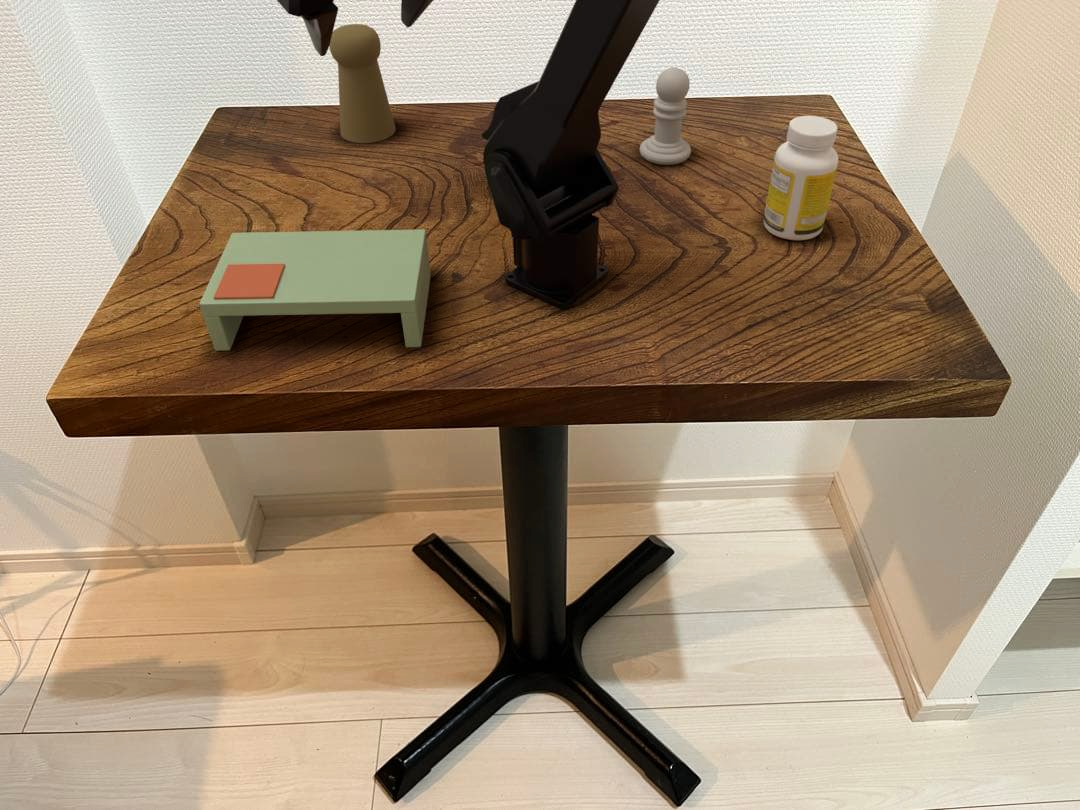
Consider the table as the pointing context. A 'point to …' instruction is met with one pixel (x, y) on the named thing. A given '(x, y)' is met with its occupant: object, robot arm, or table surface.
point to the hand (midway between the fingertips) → (364, 37)
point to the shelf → (319, 278)
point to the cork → (361, 85)
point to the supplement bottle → (802, 179)
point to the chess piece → (668, 120)
